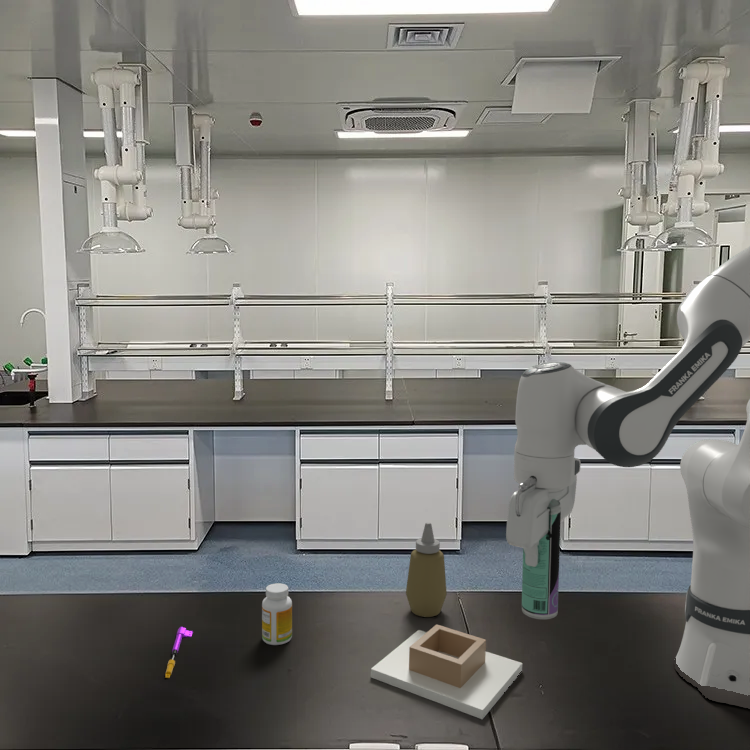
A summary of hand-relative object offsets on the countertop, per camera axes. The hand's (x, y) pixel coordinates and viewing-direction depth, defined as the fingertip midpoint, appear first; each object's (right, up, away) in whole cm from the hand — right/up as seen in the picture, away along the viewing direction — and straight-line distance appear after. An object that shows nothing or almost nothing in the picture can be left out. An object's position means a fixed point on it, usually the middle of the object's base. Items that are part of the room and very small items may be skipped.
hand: (540, 557), depth 110 cm
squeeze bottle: (-15, -19, +31) cm, 40 cm away
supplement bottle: (-43, -20, +20) cm, 52 cm away
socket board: (-13, -22, +9) cm, 27 cm away
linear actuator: (-60, -21, +14) cm, 65 cm away
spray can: (0, -9, +1) cm, 9 cm away
